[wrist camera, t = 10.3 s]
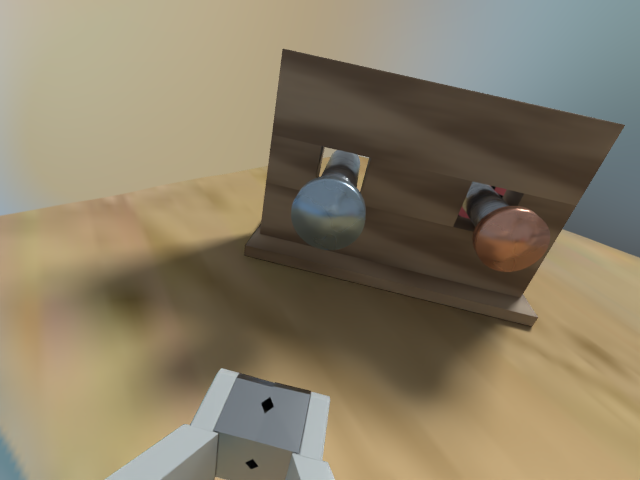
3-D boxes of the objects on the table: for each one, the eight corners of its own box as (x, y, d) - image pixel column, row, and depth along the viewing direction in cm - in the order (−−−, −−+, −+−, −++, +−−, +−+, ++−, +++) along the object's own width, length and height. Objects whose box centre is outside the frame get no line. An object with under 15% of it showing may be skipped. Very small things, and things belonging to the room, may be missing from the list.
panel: (269, 218, 36) (292, 50, 29) (500, 274, 35) (587, 116, 28) (244, 255, 29) (265, 45, 22) (532, 326, 28) (660, 133, 21)
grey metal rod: (316, 180, 32) (325, 133, 30) (362, 191, 32) (374, 145, 30) (286, 240, 21) (297, 172, 19) (355, 257, 21) (374, 191, 19)
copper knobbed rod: (436, 199, 34) (452, 157, 32) (479, 209, 34) (498, 167, 32) (465, 262, 23) (493, 204, 21) (529, 278, 23) (564, 221, 21)
